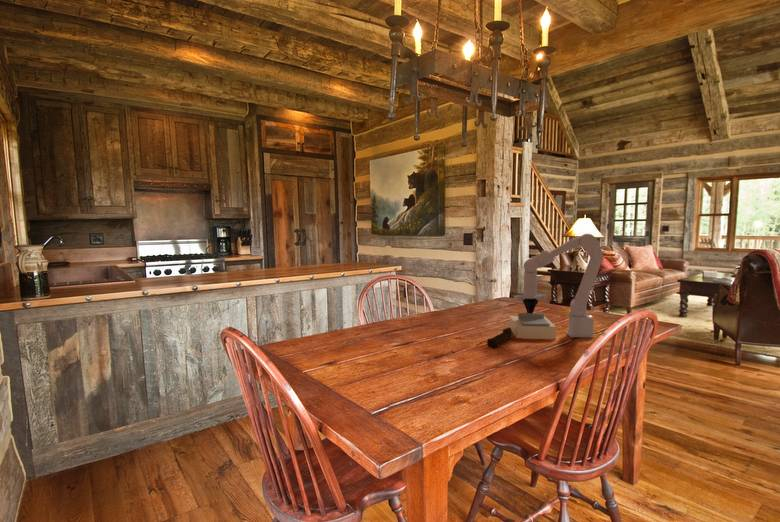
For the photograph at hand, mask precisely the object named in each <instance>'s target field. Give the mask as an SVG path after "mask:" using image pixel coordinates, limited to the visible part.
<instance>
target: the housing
mask: <svg viewBox="0 0 780 522" xmlns="http://www.w3.org/2000/svg"><path fill="white" fill-rule="evenodd" d="M544 319H545V320H546V321H547V322H548V323H549V324H550V326H530V325H522V324H521V322H520V321H519V320H518V315H509V328H511V333H512V334H513V335H514V337H515V338H516V339H517V338H522V339H521V340H523V339H525V340H528V339H529V340H556V339H557V338H556V337H557V335H556V334H557V326H556V325H555V324H554V323H553V322H552V321H550V320H549V318H548V317H546V316H545V315H544Z"/></svg>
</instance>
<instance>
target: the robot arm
mask: <svg viewBox="0 0 780 522" xmlns="http://www.w3.org/2000/svg"><path fill="white" fill-rule="evenodd" d="M581 248H582V249H584V251H586V253H587V254H588V256H589V259H588V263H587V266H586V268H585V271H584V274H583V276H582V279H581V282H580V283H579V287H578V290H577V292H576V293H575V297H574V298H572V300H571V301H570V304H569V306H570V308H569V309H570V312H569V313H568V331H567V330H565V331H564V332H565V333H566V334H567V336H569V337H570V338H591V339H592V338H593V337H594V338H595V336H594V329H595V328H594V327H595V326H594V325H595V322H594V318H593V317H594V316H592V315H589V314H588V313H587V311H588V308H587V307H588V306H587V304H588V302H589V301H588V300H589V298H590V297H589V296H590V294H591V292H592V288H593V285H594V283H595V280H596V278H597V275H598V272H599V270H600V269H601V265H602V263H603V261H604V260H603V259H604V253H603V251H602V248H601V245H600V242H599V240H598V239H597V238H596V236H594V234H591V233H584V234H583V235H581V236H576V237H574V238H571V239H569V240H568V241H566V242H565V243H563V244H560V245H559V246H558V247H556V248H553V249H552V250H549V249H546V250H545V249H544V250H541V252H540V253H538V254H536V255H532V256H531V257H530V258H529V259H526V261H525V262H524V264H523V270H524V271H523V273H524V275H523V294H517V295H513V300H514V301H522V303H523V304H524V307H525V310H526V313H534V311H535V309H536V306H537V304H538V303H539V300H547V296H548V295H547V294H545V293H544V294H543V293H541V294H538V269H541V268H544V267H545V266H547V265H549V264H551V263H553V262H554V261H555V258H556V257H558V256H560V255H562V254H565V253H566V252H568V251H570V250H572V249H573V250H574V249H581Z"/></svg>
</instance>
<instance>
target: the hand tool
mask: <svg viewBox="0 0 780 522" xmlns="http://www.w3.org/2000/svg"><path fill="white" fill-rule="evenodd" d="M512 334H513V332H512V330H511V328H510V327H508V328H505V329H503V330H502V332H500V333H499V334H497V335H496V336H493V337H492V338H488V339H487V341H486V345H487V348H490V349H496V348H497V347H498V346H499V345H501V344H502V343H504V342H507V341H506V340H509V341H510V340H511V339H512Z"/></svg>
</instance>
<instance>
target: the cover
mask: <svg viewBox="0 0 780 522" xmlns="http://www.w3.org/2000/svg"><path fill="white" fill-rule="evenodd" d="M517 316H518V320H519V321H520V322H521V324H522V325H530V326H550V324H549V323H548V322H547V321H546V320H545V319H544V316H545V313H544V312H542V313H541V312H536V313H535V312H533V313H527V312H517Z"/></svg>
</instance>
